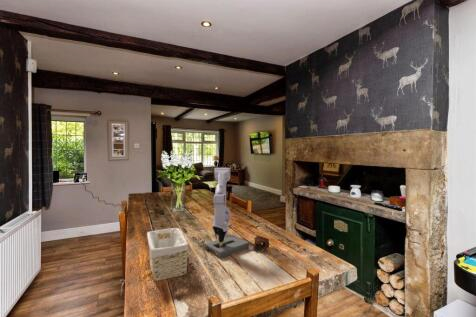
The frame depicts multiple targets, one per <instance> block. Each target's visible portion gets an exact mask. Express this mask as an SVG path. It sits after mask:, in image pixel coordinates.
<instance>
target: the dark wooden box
mask: <svg viewBox="0 0 476 317" xmlns="http://www.w3.org/2000/svg"><path fill="white" fill-rule="evenodd" d="M269 247H270V239H269V238H267V237H264V236H260V235H256V238H254V245H253V246H252V251H255V252H258V253H262V251H263V252H265V251H267V250H268V249H269Z"/></svg>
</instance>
